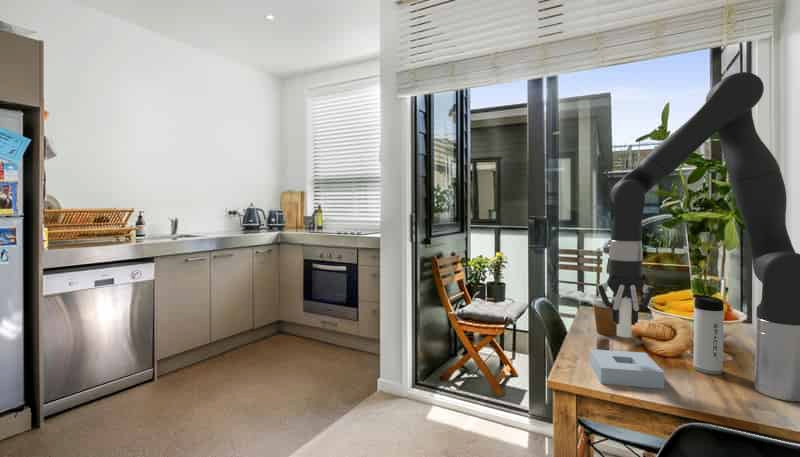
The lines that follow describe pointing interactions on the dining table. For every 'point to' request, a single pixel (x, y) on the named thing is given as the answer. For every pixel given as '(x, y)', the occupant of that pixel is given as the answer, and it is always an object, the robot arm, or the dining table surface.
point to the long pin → (625, 317)
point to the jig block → (626, 368)
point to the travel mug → (708, 334)
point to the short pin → (602, 343)
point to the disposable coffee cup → (604, 318)
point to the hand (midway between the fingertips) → (624, 323)
